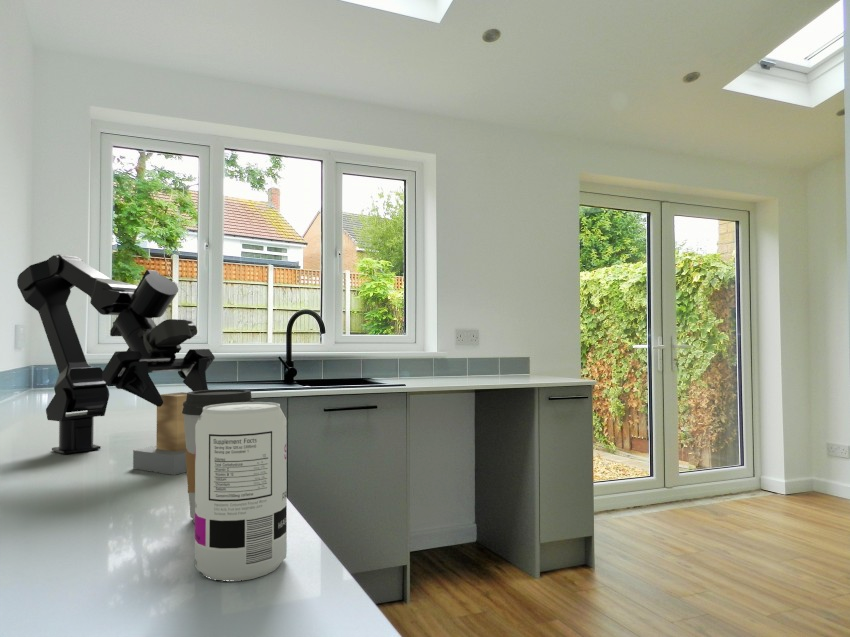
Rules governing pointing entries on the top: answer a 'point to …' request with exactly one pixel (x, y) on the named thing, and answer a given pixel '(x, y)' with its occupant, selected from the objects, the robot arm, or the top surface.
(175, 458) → the gray plinth
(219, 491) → the supplement can
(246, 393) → the coffee cup
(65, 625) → the top surface
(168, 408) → the caramel block
